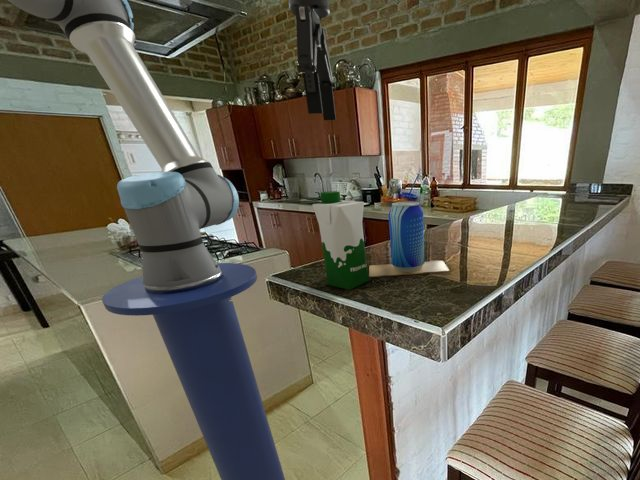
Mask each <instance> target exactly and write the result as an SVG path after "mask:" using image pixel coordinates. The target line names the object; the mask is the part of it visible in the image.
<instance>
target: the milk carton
mask: <svg viewBox="0 0 640 480" xmlns="http://www.w3.org/2000/svg"><path fill="white" fill-rule="evenodd" d="M319 195H320V201H321V202H316V203H313V204H312V208H313V211H314V213H315V217H316V220H317V223H318V226H319V232H320V233H319V234H320V239H321V246H322V252H323V259H324V267H325V277H326V278H325V279H326V285H327V286H331V287H336V288H341V289H345V290H353V289H355V288H356V287H358V286H362V285H363V284H365V283H367V282H369V281H370V277H369V268H368V265H367V257H366V247H365V238H364V226H363V219H364V218H363V217H364V208H365V207H364V205H365V202H364V201H356V200H345V199H344V200H341V194H340V191H337V190H336V191H335V190H334V191H332V190H331V191H321V192H320V194H319Z"/></svg>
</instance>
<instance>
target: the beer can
mask: <svg viewBox="0 0 640 480" xmlns="http://www.w3.org/2000/svg"><path fill="white" fill-rule="evenodd" d="M424 221H425V220H424V211H423V209H422V207H421V206H420V202H419V201H397V202H393V203H391V208H390V210H389V211H388V225H389V226H388V227H389V241H390V256H391V264H392V265H393V266H394V267H395V269H396V270H397V271H401V272H413V271H417V270H420V269H421V268H422V266H423V264H424V262H425V226H424V225H425V224H424Z"/></svg>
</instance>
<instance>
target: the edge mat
mask: <svg viewBox="0 0 640 480" xmlns="http://www.w3.org/2000/svg"><path fill="white" fill-rule="evenodd" d="M448 272H450V269H449V267H448V266H447V264H445V262H444V261H443V260H430V261H429V260H428V261H424V264H423V266H422V268H421V269H420V270H417V271H413V272H401V271H397V270H396V269H395V267H394V266H393V265H392V263H388V264H370V265H369V267H368V274H369V278H381V277H394V276H406V275H407V276H409V275H421V274H435V273H448Z"/></svg>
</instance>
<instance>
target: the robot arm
mask: <svg viewBox="0 0 640 480" xmlns="http://www.w3.org/2000/svg"><path fill="white" fill-rule="evenodd" d="M7 1H8V2H9V3H10V4H12V5H13V6H14V7H15V8H18V9H19V10H22V11H24V12H25V13H28V14H29V15H33V16H35V17H37V18H41V19H44V20H47V21H49V22H53V23H55V24H57V25H58V26H59V27H60V29H61V30H62V31H63V33H64V35H65V37H66V38H67V39H68V41H69V42H70V44H71V45H72V46H73V48H74V49H76V50H77V51H79V52H82V53H83V54H86V55H87V56H88V57H89V58H90V60H91V62H92V63H93V65H94V66H95V68H96V70H97V71H98V72H99V74H100V75H101V77H102V79H103V80H104V82H105V83H106V85H107V87H108V88H109V89H110V91H111V92H112V94H113V96H114V97H115V99H116V100H117V102H118V103H119V105H120V106H121V108H122V109H123V111H124V113H125V114H126V116H127V117H128V119H129V120H130V122H131V124H132V125H133V127H134V129H135V130H136V132H137V133H138V134H139V136H140V137H141V139H142V140H143V142H144V144H145V145H146V147H147V148H148V150H149V151H150V154H152V156H153V158H154V160H155V161H156V162H157V164H158V165H159V167H160V168H161V171H160V172H159V171H157V172H149V173H143V174H136V175H132V176H128V177H125V178H122V179H121V180H119V181H118V182H117V185H116V189H117V192H118V196H119V198H120V205H121V206H122V208H123V211H124V212H125V215H126V219H127V220H128V221H129V222H128V223H129V225H130V227H131V230H132V232H133V235H134V238H135V240H136V242H137V245H138V247H139V249H140V252H141V257H142V260H141V261H142V265H141V266H142V269H141V270H142V271H141V272H142V276H143V278H142V281H143V285H144V287H145V290H146V291H147V292H149V293H154V294H169V293H178V292H184V291H190V290H194V289H198V288H202V287H205V286H208V285H210V284H213V283H215V282H217V281H218V280H220V279H221V278H222V276H223V275H222V272H221V269H220V267H219V266H218V264H217V263H218V262H217V261H216V260H215V259H214V257H213V256H212V254H211V252H209V251H210V250H208V249H207V247H206V246H205V243H204V239H203V236H202V233H201V230H202V229H205V228H208V227H212V226H219V225H222V224H224V223H226V222H228V221H230V220H231V219H233V218H234V217H235V215H236V214H237V212H238V210H239V209H238V208H239V206H240V199H239V198H240V197H239V193H238V191H237V189H236V187H235V186H234V184H233V182H232V181H230V180H229V179H228V178H226V177H224V176H223V175H221V174H218V173H217V172H216V170H215V168H214V167H213V165H212V163H211V162H210V161H209V160H207V159H204V158H202V157H201V156H199V154H198V152H197V151H196V149H195V148H194V146H193V144H192V142H191V141H190V139H189V137H188V136H187V134H186V133H185V132H186V131H184V129H183V127H182V125H181V124H180V122H179V121H178V119H177V117H176V116H175V114H174V112H173V110H172V109H171V107H170V106H169V104H168V102H167V100H166V99H165V97H164V95H163V93H162V91H161V90H160V89H159V87H158V86H157V83H156V82H155V80H154V79H153V77H152V75H151V74H150V71H149V70H148V69H147V67H146V65H145V63H144V61H143V60H142V58H141V57H140V55H139V53H138V52H137V50H136V48H135V46H134V45H135V41H136V34H135V32H134V28H135V27H134V26H135V24H134V22H132V21H133V20H132V19H134V14H133V11H132V8H131V6H130V4H129V2H128V0H7ZM287 2H288V3H287V4H288V8H289V10H290V13H291V14H292V15H294V17H295V21H296V22H295V25H296V49H297V50H296V52H297V53H296V54H297V55H296V57H297V65H296V70H297V72H298V73H302V79H303V85H304V92H305V99H306V106H307V113H308V115H318V114H319V115H320V114H321V115H323V121H337V115H336V107H335V98H334V90H333V89H334V88H336V87H337V85H336V84H337V83H336V82H335V81H334V77H333V72H332V67H331V61H330V56H329V55H330V54H329V51H328V45H327V39H326V38H327V36H326V35H327V34H326V33H327V32H325V31H326V30H325V29H324V27H322V24H321V20H322V19H326V18H327V17H329V15H330V13H331V10H330V1H329V0H287Z"/></svg>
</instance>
